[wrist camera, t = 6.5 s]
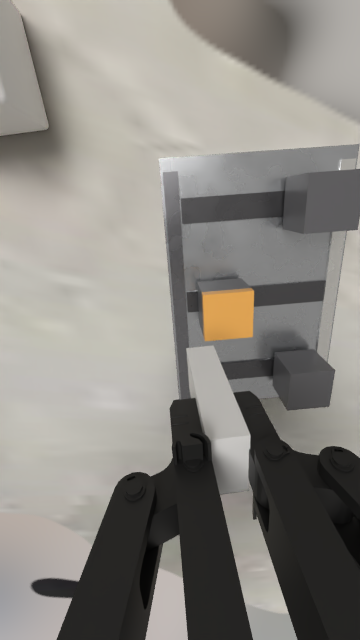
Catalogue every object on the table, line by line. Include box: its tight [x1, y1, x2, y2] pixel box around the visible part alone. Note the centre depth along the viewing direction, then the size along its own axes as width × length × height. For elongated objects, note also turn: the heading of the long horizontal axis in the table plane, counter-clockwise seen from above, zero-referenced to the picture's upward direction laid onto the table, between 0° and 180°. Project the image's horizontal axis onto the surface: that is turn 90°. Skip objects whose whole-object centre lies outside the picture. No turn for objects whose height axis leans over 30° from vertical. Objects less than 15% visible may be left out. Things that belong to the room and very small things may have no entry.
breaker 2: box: [272, 349, 335, 410], centre depth 28 cm, size 4×4×4 cm
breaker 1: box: [283, 169, 360, 234], centre depth 22 cm, size 4×4×4 cm
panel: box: [159, 144, 359, 400], centre depth 28 cm, size 16×24×2 cm, turn 4°
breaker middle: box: [197, 278, 254, 341], centre depth 25 cm, size 4×4×4 cm
